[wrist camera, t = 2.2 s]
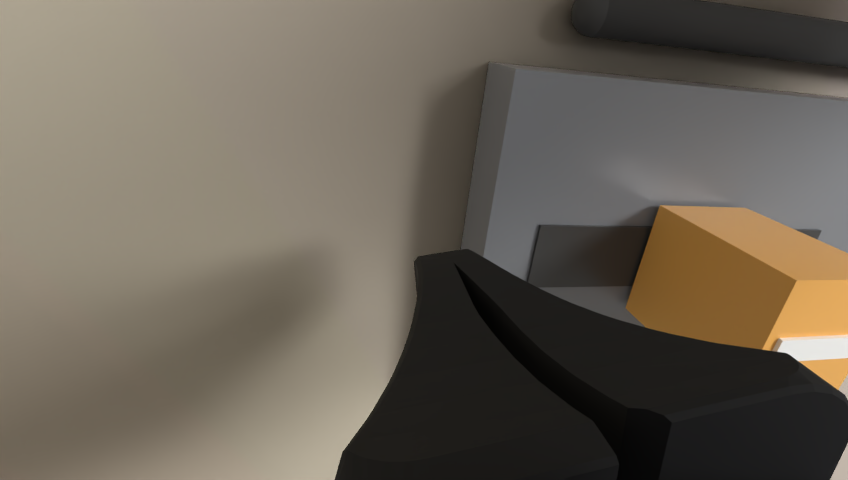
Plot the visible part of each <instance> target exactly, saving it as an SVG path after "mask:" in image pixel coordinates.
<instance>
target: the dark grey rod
mask: <svg viewBox="0 0 848 480" xmlns="http://www.w3.org/2000/svg"><path fill="white" fill-rule="evenodd" d="M571 20H572V23H573V26H574V27H575V29H576V30H577V31H578V32H579V33H580V34H582V35H584V36H588V37H596V38H604V39H613V40H621V41H629V42H638V43H646V44H654V45H663V46H671V47H680V48H688V49H696V50H705V51H713V52H721V53H730V54H738V55H747V56H755V57H763V58H772V59H780V60H788V61H797V62H805V63H814V64H822V65H830V66H839V67H847V68H848V22H842V21H836V20H829V19H822V18H815V17H808V16H802V15H795V14H788V13H781V12H775V11H768V10H761V9H754V8H748V7H741V6H734V5H727V4H720V3H714V2H707V1H700V0H575V2H574V4H573V7H572V11H571Z"/></svg>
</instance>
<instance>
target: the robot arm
mask: <svg viewBox="0 0 848 480" xmlns="http://www.w3.org/2000/svg"><path fill="white" fill-rule="evenodd" d="M414 268H415V278H416V289H417V302H416V307H415V312H414V316H413V321H412V325H411V329H410V332H409V335H408V338H407V341H406V344H405V347H404V350H403V352H402V355H401V357H400V359H399V362H398V364H397V366H396V369H395V371H394V373H393V375H392V377H391V379H390V381H389V383H388V385H387V387H386V388H385V390H384V392H383V393H382V395H381V397H380V399H379V400H378V402H377V404H376V406H375V407H374V409H373V411H372V412H371V414H370V415H369V417H368V418H367V420H366V421H365V422H364V424H363V425H362V427H361V428H360V429H359V431H358V432H357V433H356V435H355V436H354V437H353V439H352V440H351V442H350V443H349V444H348V446H347V447H346V448H345V450H344V451H343V452H342V456H341V459H340V463H339V466H338V470H337V474H336V477H335V480H830V478H831V476H832V474H833V472H834V470H835V468H836V466H837V464H838V462H839V460H840V458H841V456H842V454H843V452H844V450H845V448H846V445H847V443H848V400H847V398H846V396H845V395H844V394H843V393H841V392H840V391H839V390H837V389H836V388H835V387H833V386H832V385H830V384H829V383H828V382H826V381H825V380H824V379H822V378H821V377H819V376H818V375H817V374H815V373H814V372H813V371H811V370H810V369H808V368H807V367H806V366H804V365H803V364H802V363H800V362H799V361H797V360H796V359H795V358H793V357H792V356H790V355H789V354H787V353H783V352H776V351H769V350H762V349H755V348H748V347H741V346H734V345H727V344H720V343H714V342H708V341H703V340H699V339H694V338H689V337H684V336H679V335H674V334H670V333H666V332H662V331H657V330H653V329H649V328H646V327H642V326H639V325H635V324H632V323H628V322H625V321H621V320H618V319H615V318H612V317H608V316H605V315H602V314H599V313H597V312H594V311H591V310H589V309H586V308H584V307H581V306H578V305H576V304H573V303H570V302H568V301H566V300H563V299H561V298H559V297H557V296H555V295H552V294H550V293H548V292H546V291H544V290H542V289H540V288H538V287H536V286H534V285H532V284H530V283H528V282H526V281H524V280H522V279H520V278H519V277H517V276H515V275H513V274H511V273H510V272H508V271H506V270H504V269H503V268H501V267H499V266H497V265H496V264H494V263H492V262H491V261H489V260H487V259H486V258H484V257H482V256H480V255H479V254H477V253H475V252H473V251H471V250H469V249H462V250H456V251H450V252H444V253H437V254H431V255H425V256H418V257H417V259H416V260H415V261H414Z"/></svg>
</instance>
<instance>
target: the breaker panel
mask: <svg viewBox="0 0 848 480" xmlns="http://www.w3.org/2000/svg"><path fill="white" fill-rule="evenodd" d="M660 205H670V206H704V207H737V208H747V209H749V210H752V211H754V212H756V213H758V214H761V215H763V216H765V217H767V218H770V219H772V220H774V221H776V222H779V223H781V224H783V225H785V226H788V227H790V228H792V229H794V230H797V231H799V232H801V233H804V234H806V235H808V236H810V237H813V238H815V239H817V240H819V241H822V242H824V243H826V244H828V245H831V246H833V247H835V248H837V249H840V250H842V251H844V252H846V253H848V98H844V97H834V96H824V95H814V94H804V93H794V92H784V91H774V90H765V89H755V88H745V87H735V86H725V85H715V84H705V83H695V82H685V81H675V80H665V79H655V78H645V77H635V76H625V75H615V74H605V73H595V72H585V71H575V70H565V69H556V68H546V67H536V66H526V65H516V64H506V63H496V62H489V64H488V71H487V78H486V84H485V91H484V98H483V104H482V111H481V118H480V124H479V131H478V138H477V144H476V151H475V158H474V164H473V171H472V178H471V184H470V191H469V197H468V204H467V211H466V217H465V224H464V231H463V237H462V244H461V250H462V249H469V250H471V251H473V252H475V253H477V254H479V255H480V256H482V257H484V258H486V259H487V260H489V261H491V262H492V263H494V264H496V265H497V266H499V267H501V268H503V269H504V270H506V271H508V272H510V273H511V274H513V275H515V276H517V277H519V278H520V279H522V280H524V281H526V282H528V283H530V284H532V285H534V286H536V287H538V288H540V289H542V290H544V291H546V292H548V293H550V294H552V295H555V296H557V297H559V298H561V299H563V300H566V301H568V302H570V303H573V304H576V305H578V306H581V307H584V308H586V309H589V310H591V311H594V312H597V313H599V314H602V315H605V316H608V317H612V318H615V319H618V320H621V321H625V322H628V323H632V324H635V325H639V326H642V327H645V326H644V325H643V324H642V323H640V322H639V321H638V320H637V319H636V318H635V317H634V316H633V315H632V314H631V313H630V312H629V311H628V310H627V309H626V305H627V302H628V299H629V296H630V293H631V290H632V287H633V284H634V281H635V278H636V275H637V272H638V269H639V266H640V263H641V260H642V257H643V254H644V251H645V248H646V245H647V242H648V239H649V236H650V233H651V230H652V227H653V224H654V221H655V218H656V215H657V212H658V209H659V206H660Z"/></svg>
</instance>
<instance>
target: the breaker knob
mask: <svg viewBox="0 0 848 480" xmlns="http://www.w3.org/2000/svg"><path fill="white" fill-rule="evenodd" d="M626 309H627V310H628V311H629V312H630V313H631V314H632V315H633V316H634V317H635V318H636V319H637V320H638V321H639V322H640V323H642V324H643V325H644V326H645V327H646V328H649V329H653V330H657V331H662V332H666V333H670V334H674V335H679V336H684V337H689V338H694V339H699V340H703V341H708V342H714V343H720V344H727V345H734V346H741V347H748V348H755V349H762V350H769V351H776V352H783V353H787V354H789V355H790V356H792V357H793V358H795V359H796V360H797V361H799V362H800V363H802V364H803V365H804V366H806V367H807V368H808V369H810V370H811V371H813V372H814V373H815V374H817V375H818V376H819V377H821V378H822V379H824V380H825V381H826V382H828V383H829V384H830V385H832V386H833V387H835V388H836V389H837V390H838V389H839V387H840V386H841V384H842V382H843V381H844V379H845V378H846V376H847V374H848V253H846V252H844V251H842V250H840V249H837V248H835V247H833V246H831V245H828V244H826V243H824V242H822V241H819V240H817V239H815V238H813V237H810V236H808V235H806V234H804V233H801V232H799V231H797V230H794V229H792V228H790V227H788V226H785V225H783V224H781V223H779V222H776V221H774V220H772V219H770V218H767V217H765V216H763V215H761V214H758V213H756V212H754V211H752V210H749V209H747V208H737V207H704V206H670V205H660V206H659V209H658V212H657V215H656V218H655V221H654V224H653V227H652V230H651V233H650V236H649V239H648V242H647V245H646V248H645V251H644V254H643V257H642V260H641V263H640V266H639V269H638V272H637V275H636V278H635V281H634V284H633V287H632V290H631V293H630V296H629V299H628V302H627V305H626Z"/></svg>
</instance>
